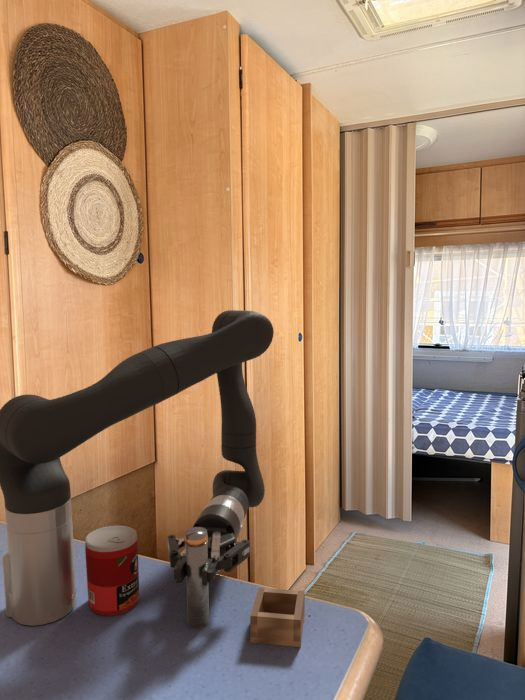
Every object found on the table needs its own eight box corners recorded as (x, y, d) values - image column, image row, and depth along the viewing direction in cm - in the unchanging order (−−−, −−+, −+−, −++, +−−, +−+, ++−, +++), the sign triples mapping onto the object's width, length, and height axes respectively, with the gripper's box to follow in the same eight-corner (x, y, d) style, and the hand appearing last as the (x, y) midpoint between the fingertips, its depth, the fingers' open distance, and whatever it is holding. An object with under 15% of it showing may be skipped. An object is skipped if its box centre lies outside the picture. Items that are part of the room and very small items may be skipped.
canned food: (127, 619, 80) (124, 550, 78) (78, 613, 81) (74, 545, 80) (147, 591, 87) (145, 527, 86) (103, 586, 89) (99, 523, 87)
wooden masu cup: (250, 642, 74) (250, 615, 74) (258, 612, 81) (258, 587, 81) (300, 647, 73) (300, 620, 73) (304, 616, 80) (304, 591, 80)
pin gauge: (184, 627, 78) (181, 536, 76) (190, 613, 81) (188, 526, 79) (206, 629, 77) (204, 537, 75) (211, 615, 80) (209, 527, 79)
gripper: (179, 501, 93) (142, 549, 76) (259, 505, 91) (240, 556, 74) (180, 542, 94) (144, 599, 77) (260, 547, 91) (240, 607, 74)
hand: (191, 578), depth 75 cm, fingers closed on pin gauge, 3 cm apart
